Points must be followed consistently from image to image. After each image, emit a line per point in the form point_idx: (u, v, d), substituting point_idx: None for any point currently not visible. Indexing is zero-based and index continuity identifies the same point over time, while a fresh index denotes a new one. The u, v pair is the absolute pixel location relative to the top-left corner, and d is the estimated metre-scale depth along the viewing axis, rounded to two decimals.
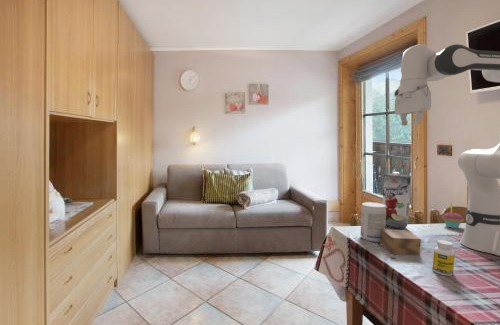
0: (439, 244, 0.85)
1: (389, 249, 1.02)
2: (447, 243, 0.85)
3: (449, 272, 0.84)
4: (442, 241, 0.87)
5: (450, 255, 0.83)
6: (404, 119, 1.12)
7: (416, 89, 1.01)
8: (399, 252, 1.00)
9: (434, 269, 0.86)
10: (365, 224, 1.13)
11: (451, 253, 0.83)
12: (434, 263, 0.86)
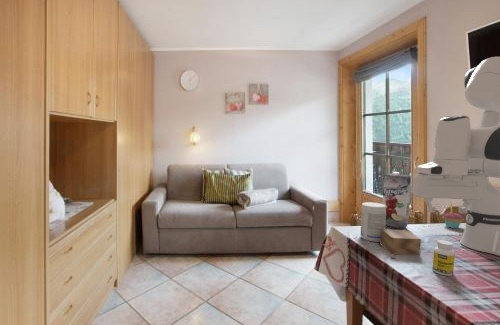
0: (439, 244, 0.85)
1: (389, 249, 1.02)
2: (447, 243, 0.85)
3: (449, 272, 0.84)
4: (442, 241, 0.87)
5: (450, 255, 0.83)
6: None
7: None
8: (399, 252, 1.00)
9: (434, 269, 0.86)
10: (365, 224, 1.13)
11: (451, 253, 0.83)
12: (434, 263, 0.86)
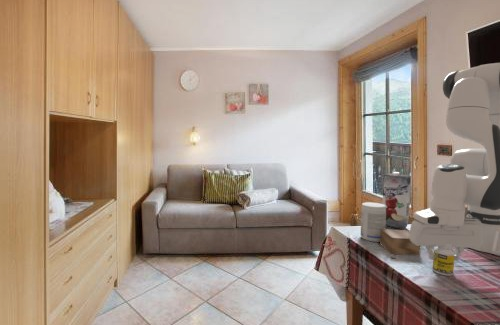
0: None
1: (389, 249, 1.02)
2: None
3: (449, 272, 0.84)
4: None
5: (450, 255, 0.83)
6: None
7: None
8: (399, 252, 1.00)
9: (434, 269, 0.86)
10: (365, 224, 1.13)
11: (451, 253, 0.83)
12: (434, 263, 0.86)
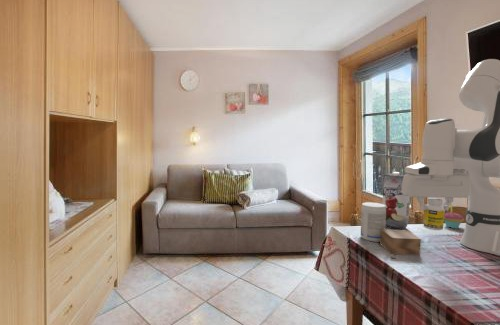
0: (429, 201, 0.89)
1: (389, 249, 1.02)
2: (437, 199, 0.89)
3: (439, 227, 0.88)
4: (433, 198, 0.90)
5: (439, 211, 0.87)
6: None
7: None
8: (399, 252, 1.00)
9: (425, 225, 0.90)
10: (365, 224, 1.13)
11: (440, 208, 0.87)
12: (425, 220, 0.90)
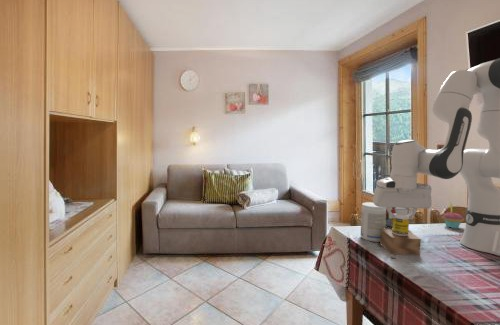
0: (396, 210, 1.03)
1: (389, 249, 1.02)
2: (403, 209, 1.02)
3: (404, 233, 1.01)
4: (400, 208, 1.04)
5: (404, 219, 1.01)
6: None
7: None
8: (399, 252, 1.00)
9: (393, 231, 1.04)
10: (365, 224, 1.13)
11: (405, 217, 1.01)
12: (393, 226, 1.04)
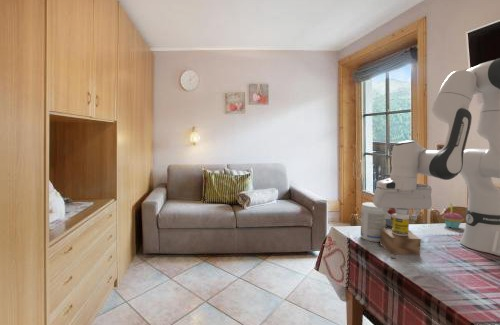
0: (396, 210, 1.03)
1: (389, 249, 1.02)
2: (403, 209, 1.02)
3: (404, 233, 1.01)
4: (400, 208, 1.04)
5: (404, 219, 1.01)
6: None
7: None
8: (399, 252, 1.00)
9: (393, 231, 1.04)
10: (365, 224, 1.13)
11: (405, 217, 1.01)
12: (393, 226, 1.04)
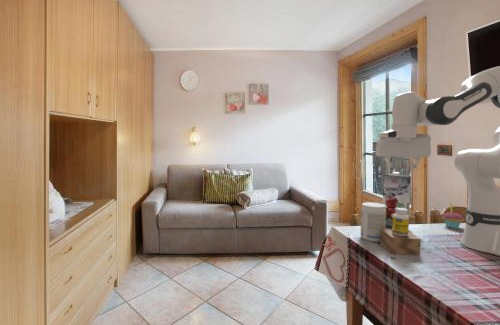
0: (396, 210, 1.03)
1: (389, 249, 1.02)
2: (403, 209, 1.02)
3: (404, 233, 1.01)
4: (400, 208, 1.04)
5: (404, 219, 1.01)
6: None
7: None
8: (399, 252, 1.00)
9: (393, 231, 1.04)
10: (365, 224, 1.13)
11: (405, 217, 1.01)
12: (393, 226, 1.04)
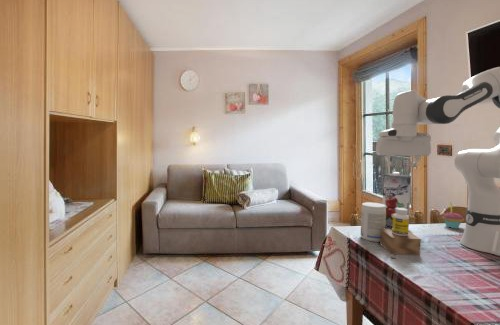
0: (396, 210, 1.03)
1: (389, 249, 1.02)
2: (403, 209, 1.02)
3: (404, 233, 1.01)
4: (400, 208, 1.04)
5: (404, 219, 1.01)
6: None
7: None
8: (399, 252, 1.00)
9: (393, 231, 1.04)
10: (365, 224, 1.13)
11: (405, 217, 1.01)
12: (393, 226, 1.04)
